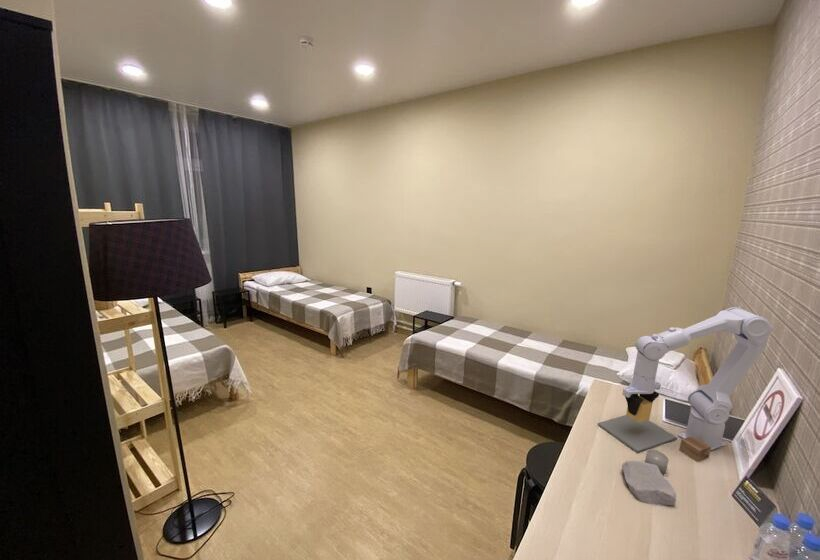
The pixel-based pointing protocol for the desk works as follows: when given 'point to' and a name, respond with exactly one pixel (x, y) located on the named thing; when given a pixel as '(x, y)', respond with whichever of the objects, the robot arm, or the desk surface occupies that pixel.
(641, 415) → the ochre block
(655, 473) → the stone block
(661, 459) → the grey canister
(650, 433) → the slate mat
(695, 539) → the desk surface
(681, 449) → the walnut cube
